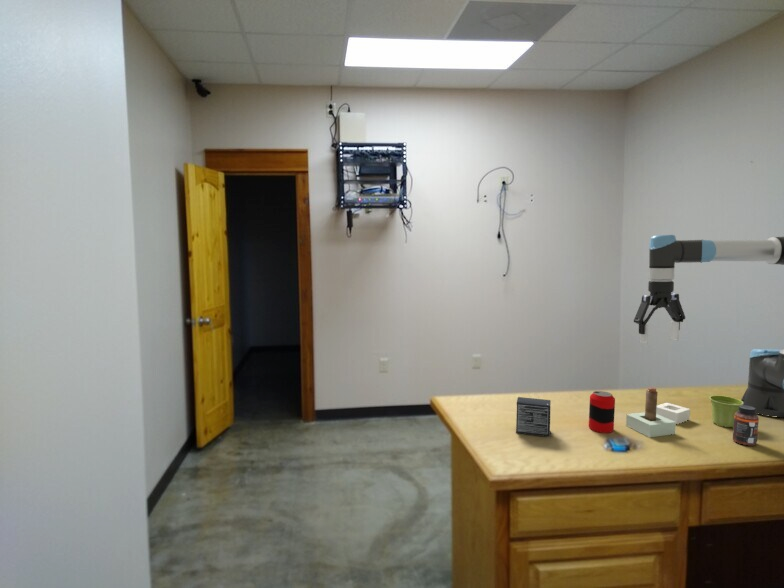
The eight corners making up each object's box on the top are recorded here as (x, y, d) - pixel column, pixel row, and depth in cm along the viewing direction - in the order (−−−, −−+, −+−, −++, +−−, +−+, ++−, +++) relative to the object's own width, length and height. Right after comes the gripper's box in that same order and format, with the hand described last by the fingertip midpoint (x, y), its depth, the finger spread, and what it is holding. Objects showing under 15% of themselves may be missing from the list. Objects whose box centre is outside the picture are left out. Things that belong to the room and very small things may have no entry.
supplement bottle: (757, 448, 139) (760, 411, 138) (733, 444, 142) (736, 408, 141) (755, 441, 144) (758, 406, 143) (731, 437, 147) (734, 402, 146)
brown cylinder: (649, 427, 155) (652, 386, 154) (657, 431, 152) (660, 389, 151) (641, 428, 154) (644, 387, 153) (649, 432, 151) (651, 390, 150)
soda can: (594, 422, 159) (595, 388, 158) (617, 428, 154) (618, 393, 153) (584, 428, 154) (586, 393, 153) (608, 435, 149) (610, 399, 148)
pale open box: (650, 422, 159) (650, 411, 159) (674, 434, 150) (675, 422, 149) (625, 425, 157) (626, 414, 156) (649, 437, 147) (650, 425, 147)
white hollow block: (666, 413, 168) (666, 402, 168) (689, 420, 162) (690, 409, 161) (653, 417, 164) (654, 406, 164) (676, 424, 157) (677, 413, 157)
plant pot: (743, 424, 158) (745, 399, 157) (739, 432, 151) (741, 406, 150) (710, 417, 164) (712, 393, 163) (705, 424, 157) (707, 400, 157)
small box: (550, 430, 153) (551, 399, 152) (549, 437, 147) (551, 405, 146) (517, 426, 157) (517, 395, 156) (515, 433, 151) (516, 401, 149)
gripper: (679, 278, 166) (677, 336, 168) (623, 281, 158) (621, 342, 160) (698, 279, 159) (696, 340, 161) (641, 282, 151) (639, 346, 153)
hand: (659, 341), depth 161 cm, fingers open, 13 cm apart
